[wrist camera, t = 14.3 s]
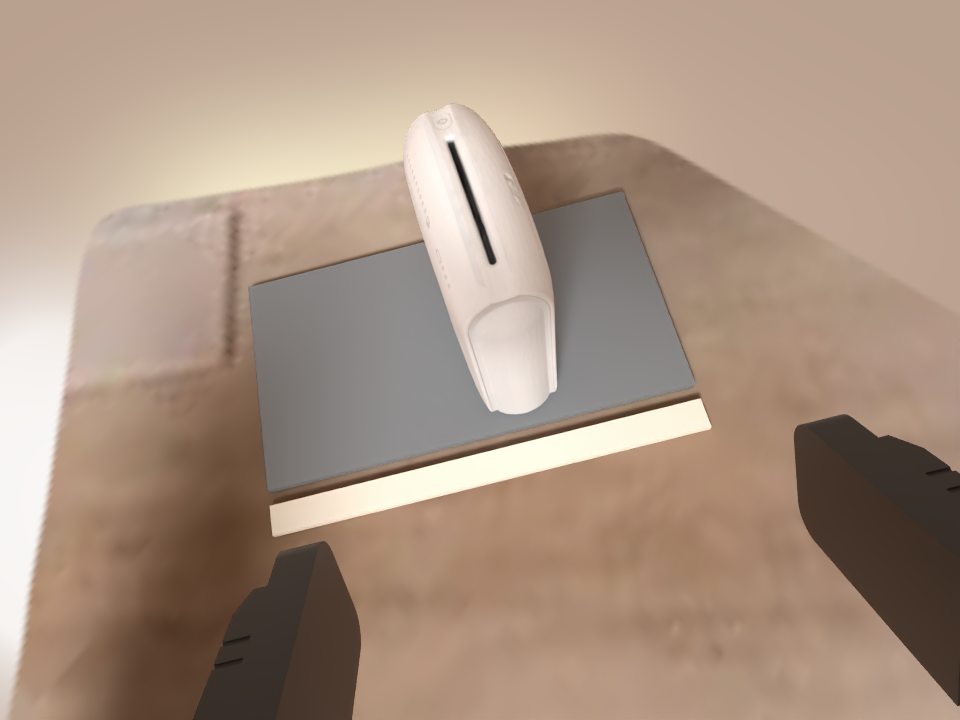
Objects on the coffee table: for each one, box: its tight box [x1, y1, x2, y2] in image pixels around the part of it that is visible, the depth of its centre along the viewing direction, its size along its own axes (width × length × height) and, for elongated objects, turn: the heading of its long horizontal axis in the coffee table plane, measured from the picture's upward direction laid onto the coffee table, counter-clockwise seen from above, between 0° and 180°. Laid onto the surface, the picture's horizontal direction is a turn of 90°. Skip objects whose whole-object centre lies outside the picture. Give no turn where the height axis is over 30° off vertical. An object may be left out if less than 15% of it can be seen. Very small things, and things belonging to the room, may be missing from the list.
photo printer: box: [404, 103, 557, 414], centre depth 29 cm, size 10×4×12 cm, turn 17°
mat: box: [248, 191, 711, 537], centre depth 35 cm, size 22×14×1 cm, turn 103°
